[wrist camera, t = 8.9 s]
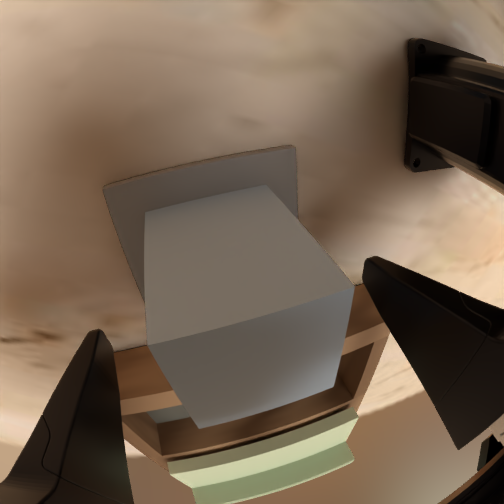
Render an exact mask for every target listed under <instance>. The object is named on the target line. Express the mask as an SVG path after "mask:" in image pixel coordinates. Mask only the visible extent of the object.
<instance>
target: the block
mask: <svg viewBox="0 0 504 504" xmlns="http://www.w3.org/2000/svg"><path fill="white" fill-rule="evenodd" d="M144 288H145V316H146V334H147V346H148V348H149V349H150V351H151V353H152V355H153V357H154V358H155V360H156V362H157V364H158V365H159V367H160V369H161V370H162V372H163V374H164V375H165V377H166V379H167V380H168V382H169V384H170V385H171V387H172V389H173V390H174V392H175V393H176V395H177V397H178V398H179V400H180V401H181V403H182V404H183V406H184V407H185V409H186V410H187V412H188V413H189V415H190V416H191V418H192V419H193V421H194V422H195V424H196V425H197V427H198V428H199V429H200V428H205V427H209V426H213V425H218V424H222V423H225V422H229V421H233V420H237V419H240V418H244V417H248V416H251V415H254V414H258V413H261V412H264V411H268V410H271V409H274V408H277V407H280V406H283V405H286V404H289V403H292V402H295V401H298V400H300V399H303V398H306V397H309V396H311V395H314V394H317V393H319V392H322V391H324V390H327V389H329V388H332V387H334V383H335V379H336V375H337V371H338V367H339V363H340V359H341V354H342V350H343V345H344V341H345V336H346V331H347V326H348V321H349V316H350V311H351V306H352V300H353V295H354V289H355V286H354V285H353V284H352V282H351V281H350V280H349V279H348V278H347V276H346V275H345V274H344V273H343V272H342V270H341V269H340V268H339V267H338V266H337V264H336V263H335V262H334V261H333V260H332V258H331V257H330V256H329V255H328V254H327V253H326V251H325V250H324V249H323V248H322V247H321V246H320V244H319V243H318V242H317V241H316V240H315V239H314V237H313V236H312V235H311V234H310V233H309V232H308V231H307V229H306V228H305V227H304V226H303V225H302V224H301V223H300V222H299V220H298V219H297V218H296V217H295V216H294V215H293V214H292V213H291V211H290V210H289V209H288V208H287V207H286V206H285V205H284V204H283V203H282V201H281V200H280V199H279V198H278V197H277V196H276V195H275V194H274V193H273V192H272V191H271V189H270V188H269V187H268V186H267V185H261V186H256V187H251V188H246V189H241V190H237V191H232V192H227V193H223V194H218V195H214V196H209V197H205V198H201V199H196V200H192V201H188V202H184V203H180V204H176V205H172V206H168V207H164V208H160V209H156V210H152V211H148V212H145V231H144Z"/></svg>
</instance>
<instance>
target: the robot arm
mask: <svg viewBox="0 0 504 504" xmlns="http://www.w3.org/2000/svg"><path fill="white" fill-rule="evenodd" d="M418 46H419V50H418ZM408 62H409V91H408V119H407V135H406V148H405V159H404V164H405V167H406V168H407V169H409V170H410V171H412V172H422V171H429V170H436V169H444V168H452V167H456V168H458V169H460V170H462V171H464V172H466V173H467V174H469V175H471V176H473V177H474V178H476V179H478V180H480V181H481V182H483V183H485V184H486V185H488V186H490V187H491V188H493V189H495V190H496V191H498V192H500V193H501V194H503V195H504V67H503V66H499V65H495V64H491V63H487V62H486V60H485V59H483V58H481V57H478V56H475V55H473V54H470V53H467V52H464V51H461V50H458V49H455V48H452V47H449V46H446V45H443V44H439V43H436V42H432V41H429V40H425V39H420V38H412V39H411V40H410V41H409V43H408ZM414 160H415V161H414ZM413 162H414V163H413ZM362 280H363V283H364V285H365V287H366V289H367V291H368V293H369V295H370V297H371V299H372V301H373V303H374V305H375V306H376V308H377V310H378V312H379V314H380V316H381V318H382V319H383V321H384V323H385V324H386V326H387V327H388V329H389V330H390V332H391V334H392V335H393V337H394V338H395V340H396V342H397V343H398V345H399V346H400V348H401V350H402V351H403V353H404V355H405V356H406V358H407V360H408V361H409V363H410V364H411V366H412V368H413V370H414V371H415V373H416V375H417V376H418V378H419V380H420V381H421V383H422V385H423V387H424V388H425V390H426V392H427V394H428V395H429V397H430V399H431V400H432V402H433V404H434V406H435V408H436V410H437V412H438V414H439V415H440V417H441V419H442V421H443V423H444V425H445V427H446V429H447V430H448V432H449V434H450V436H451V438H452V440H453V442H454V444H455V446H456V448H457V449H458V450H460V449H461V448H462V447H464V446H465V445H466V444H468V443H469V442H470V441H472V440H473V439H474V438H476V437H477V436H478V435H479V434H481V433H482V432H483V431H484V430H486V429H487V428H488V427H489V429H490V430H491V432H492V434H491V435H490V436H489V437H488V438H486V439H485V440H484V441H483V442H482V444H481V451H480V456H479V462H478V467H477V471H478V472H477V473H476V474H475V475H474V476H473V477H471V478H470V479H469V480H468V481H467V482H466V483H464V484H463V485H462V486H461V487H459V488H458V489H457V490H456V491H454V492H453V493H452V494H450V495H449V496H448V497H446V498H445V499H444V500H442V501H441V502H439V503H438V504H504V309H501V308H499V307H496V306H493V305H491V304H488V303H485V302H483V301H480V300H478V299H476V298H473V297H471V296H469V295H466V294H464V293H462V292H459V291H458V290H455V289H453V288H451V287H449V286H446V285H444V284H442V283H440V282H437V281H435V280H433V279H430V278H428V277H426V276H423V275H421V274H419V273H416V272H414V271H412V270H409V269H407V268H405V267H402V266H400V265H397V264H395V263H393V262H390V261H388V260H385V259H383V258H381V257H378V256H373V257H370V258H367V259H366V260H365V263H364V269H363V274H362ZM0 504H134V501H133V496H132V490H131V485H130V479H129V473H128V467H127V460H126V452H125V444H124V436H123V426H122V415H121V403H120V391H119V385H118V379H117V372H116V366H115V359H114V351H113V348H112V345H111V343H110V342H109V340H108V339H107V337H106V336H105V334H104V332H103V331H102V330H101V329H97V330H92V331H90V332H89V333H88V334H87V335H86V337H85V339H84V340H83V342H82V344H81V345H80V347H79V349H78V350H77V352H76V354H75V355H74V357H73V359H72V360H71V362H70V364H69V366H68V367H67V369H66V371H65V373H64V374H63V376H62V378H61V380H60V381H59V383H58V385H57V387H56V389H55V390H54V392H53V394H52V396H51V398H50V400H49V402H48V404H47V405H46V407H45V409H44V411H43V415H41V417H40V419H39V421H38V423H37V425H36V427H35V429H34V431H33V432H32V434H31V436H30V438H29V440H28V442H27V443H26V445H25V447H24V449H23V450H22V452H21V454H20V456H19V457H18V459H17V461H16V462H15V464H14V466H13V468H12V470H11V471H10V473H9V474H8V476H7V477H6V479H5V480H4V481H3V482H1V483H0Z"/></svg>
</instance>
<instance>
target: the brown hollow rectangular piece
mask: <svg viewBox="0 0 504 504" xmlns="http://www.w3.org/2000/svg"><path fill="white" fill-rule="evenodd" d="M389 334H390V330H389V329H388V327H387V326H386V324H385V323H384V321H383V319H382V318H381V316H380V314H379V312H378V310H377V308H376V306H375V305H374V303H373V301H372V299H371V297H370V295H369V293H368V291H367V289H366V287H365V285H364V284H361V285H358V286H355V289H354V295H353V300H352V306H351V311H350V316H349V321H348V326H347V331H346V336H345V341H344V345H343V350H342V354H341V359H340V363H339V367H338V371H337V375H336V379H335V383H334V387H332V388H329V389H327V390H324V391H322V392H319V393H317V394H314V395H311V396H309V397H306V398H303V399H300V400H298V401H295V402H292V403H289V404H286V405H283V406H280V407H277V408H274V409H271V410H268V411H264V412H261V413H258V414H254V415H251V416H248V417H244V418H240V419H237V420H233V421H229V422H225V423H222V424H218V425H213V426H209V427H205V428H200V429H199V428H198V427H197V425H196V424H195V422H194V421H193V419H192V418H191V416H190V415H189V413H188V412H187V410H186V409H185V407H184V406H183V404H182V403H181V401H180V400H179V398H178V397H177V395H176V393H175V392H174V390H173V389H172V387H171V385H170V384H169V382H168V380H167V379H166V377H165V375H164V374H163V372H162V370H161V369H160V367H159V365H158V364H157V362H156V360H155V358H154V357H153V355H152V353H151V351H150V349H149V348H148V346H143V347H138V348H134V349H129V350H124V351H119V352H115V353H114V359H115V366H116V372H117V379H118V385H119V391H120V403H121V415H122V426H123V436H124V439H125V440H126V441H127V442H129V443H130V444H131V445H133V446H134V447H135V448H136V449H138V450H139V451H140V452H142V453H143V454H144V455H146V456H147V457H148V458H150V459H151V460H153V461H154V462H155V463H157V464H158V465H160V466H161V467H163V468H164V469H165V470H167V471H168V472H169V469H168V464H167V462H172V461H178V460H184V459H189V458H194V457H199V456H204V455H209V454H213V453H218V452H222V451H226V450H230V449H234V448H238V447H241V446H245V445H249V444H252V443H256V442H259V441H262V440H266V439H269V438H272V437H275V436H278V435H281V434H284V433H287V432H290V431H293V430H296V429H299V428H302V427H304V426H307V425H310V424H312V423H315V422H317V421H320V420H323V419H325V418H327V417H330V416H332V415H335V414H337V413H339V412H342V411H344V410H346V409H349V408H351V407H353V408H354V409H355V411H356V412H357V410H358V408H359V406H360V404H361V402H362V399H363V397H364V395H365V393H366V391H367V388H368V386H369V384H370V381H371V379H372V377H373V374H374V372H375V370H376V367H377V365H378V362H379V360H380V357H381V355H382V352H383V350H384V347H385V344H386V342H387V339H388V336H389Z"/></svg>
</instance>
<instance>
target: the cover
mask: <svg viewBox="0 0 504 504" xmlns="http://www.w3.org/2000/svg"><path fill="white" fill-rule="evenodd" d="M358 418H359V417H358V415H357V413H356V411H355V409H354V408H353V407H351V408H349V409H346V410H344V411H342V412H339V413H337V414H335V415H332V416H330V417H327V418H325V419H323V420H320V421H317V422H315V423H312V424H310V425H307V426H304V427H302V428H299V429H296V430H293V431H290V432H287V433H284V434H281V435H278V436H275V437H272V438H269V439H266V440H262V441H259V442H256V443H252V444H249V445H245V446H241V447H238V448H234V449H230V450H226V451H222V452H218V453H213V454H209V455H204V456H199V457H194V458H189V459H184V460H178V461H172V462H167V464H168V469H169V473H170V475H171V476H173V477H174V478H176V479H178V480H179V481H181V482H182V483H184V484H186V485H187V486H189V487H191V488H192V491H193V495H194V498H195V502H196V504H232V503H236V502H240V501H244V500H248V499H252V498H256V497H260V496H263V495H267V494H270V493H273V492H277V491H280V490H283V489H286V488H289V487H292V486H295V485H298V484H301V483H304V482H306V481H309V480H312V479H314V478H317V477H319V476H322V475H324V474H327V473H329V472H332V471H334V470H336V469H339V468H341V467H343V466H345V465H347V464H350V463H352V462H353V461H354V459H355V458H354V456H353V455H352V452H351V450H350V449H349V447H348V445H347V443H346V440H347V438H348V436H349V434H350V433H351V431H352V429H353V427H354V425H355V423H356V421H357V420H358Z"/></svg>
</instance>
